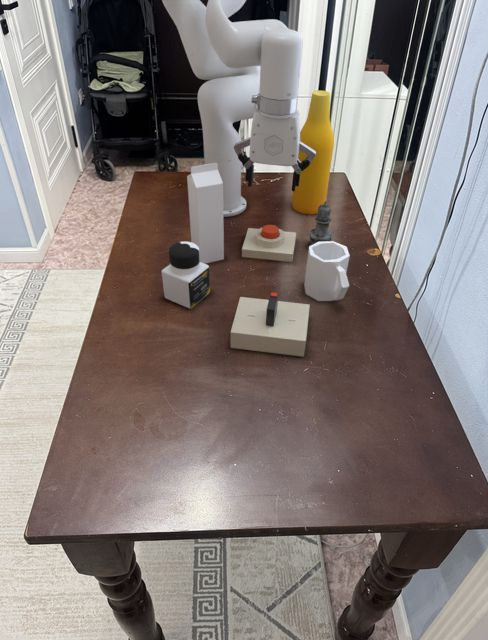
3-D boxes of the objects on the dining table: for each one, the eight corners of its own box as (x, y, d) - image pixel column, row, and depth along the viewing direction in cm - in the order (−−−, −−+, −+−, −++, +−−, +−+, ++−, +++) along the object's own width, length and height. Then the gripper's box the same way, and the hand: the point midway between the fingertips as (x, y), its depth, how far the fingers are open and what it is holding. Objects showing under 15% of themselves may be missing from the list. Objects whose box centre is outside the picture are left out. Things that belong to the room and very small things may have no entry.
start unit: (241, 257, 117) (241, 242, 114) (248, 235, 124) (248, 221, 121) (292, 262, 116) (293, 247, 113) (295, 240, 123) (297, 225, 120)
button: (260, 238, 116) (261, 232, 115) (262, 230, 119) (263, 223, 118) (277, 240, 116) (278, 233, 115) (279, 231, 119) (279, 225, 118)
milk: (224, 259, 116) (223, 168, 101) (199, 265, 114) (195, 173, 99) (214, 246, 120) (213, 157, 105) (191, 251, 118) (185, 161, 103)
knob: (273, 326, 93) (274, 308, 90) (265, 325, 93) (266, 307, 90) (277, 310, 96) (278, 292, 93) (269, 309, 96) (270, 291, 93)
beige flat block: (230, 347, 94) (230, 331, 91) (240, 312, 102) (240, 295, 99) (303, 356, 93) (306, 340, 90) (307, 319, 101) (309, 303, 98)
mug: (297, 284, 109) (301, 245, 103) (330, 275, 112) (336, 237, 105) (324, 315, 102) (330, 276, 95) (359, 306, 104) (368, 266, 97)
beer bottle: (324, 200, 139) (340, 88, 119) (325, 216, 132) (342, 100, 112) (291, 198, 139) (301, 86, 119) (291, 214, 133) (301, 98, 113)
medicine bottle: (190, 310, 102) (187, 260, 94) (163, 298, 105) (158, 249, 96) (210, 292, 106) (208, 244, 98) (184, 282, 109) (180, 233, 101)
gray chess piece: (330, 254, 118) (337, 208, 110) (306, 251, 119) (311, 205, 111) (332, 242, 123) (339, 196, 114) (308, 239, 123) (314, 194, 115)
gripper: (231, 106, 95) (230, 190, 107) (320, 114, 93) (309, 198, 105) (237, 94, 100) (236, 175, 112) (322, 101, 99) (312, 182, 111)
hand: (272, 186), depth 109 cm, fingers open, 9 cm apart
